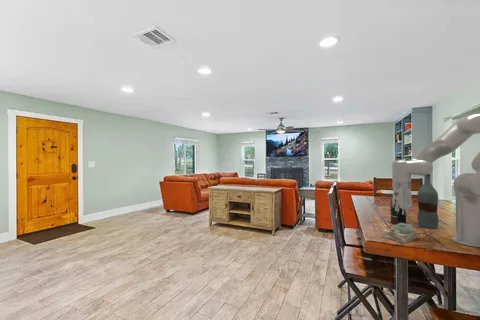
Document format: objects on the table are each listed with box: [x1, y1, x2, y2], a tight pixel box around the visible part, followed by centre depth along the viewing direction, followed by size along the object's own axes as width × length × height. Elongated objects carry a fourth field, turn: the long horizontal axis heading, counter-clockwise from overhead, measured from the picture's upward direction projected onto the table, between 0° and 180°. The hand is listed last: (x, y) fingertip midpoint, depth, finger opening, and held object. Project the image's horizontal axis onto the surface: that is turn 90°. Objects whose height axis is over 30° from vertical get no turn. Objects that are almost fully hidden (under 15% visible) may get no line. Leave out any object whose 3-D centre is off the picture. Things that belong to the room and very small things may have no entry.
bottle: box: [393, 223, 414, 234], centre depth 114 cm, size 5×5×12 cm
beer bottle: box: [390, 197, 407, 225], centre depth 137 cm, size 8×8×24 cm
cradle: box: [382, 227, 418, 244], centre depth 113 cm, size 10×13×3 cm
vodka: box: [416, 173, 440, 230], centre depth 131 cm, size 9×9×30 cm
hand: (401, 222), depth 114 cm, fingers closed
